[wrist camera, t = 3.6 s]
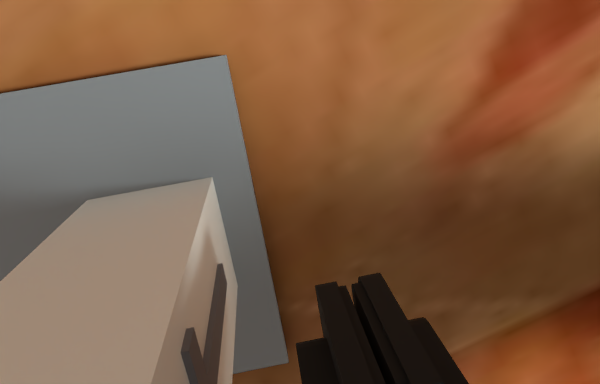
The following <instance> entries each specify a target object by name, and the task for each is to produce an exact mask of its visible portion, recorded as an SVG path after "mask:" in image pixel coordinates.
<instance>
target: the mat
mask: <svg viewBox="0 0 600 384" xmlns="http://www.w3.org/2000/svg"><path fill="white" fill-rule="evenodd" d="M210 177H212V178H213V182H214V186H215V191H216V195H217V199H218V203H219V208H220V212H221V216H222V221H223V225H224V229H225V233H226V238H227V242H228V246H229V250H230V255H231V259H232V263H233V268H234V272H235V276H236V280H237V285H238V289H237V306H236V324H235V342H234V360H233V374H236V373H241V372H246V371H250V370H255V369H260V368H265V367H270V366H275V365H280V364H285V363H289V360H288V353H287V348H286V343H285V338H284V333H283V328H282V324H281V319H280V314H279V309H278V304H277V299H276V294H275V289H274V285H273V280H272V275H271V270H270V265H269V260H268V255H267V250H266V246H265V241H264V236H263V231H262V226H261V221H260V216H259V211H258V207H257V202H256V197H255V192H254V187H253V182H252V177H251V172H250V168H249V163H248V158H247V153H246V148H245V143H244V138H243V133H242V129H241V124H240V119H239V114H238V109H237V104H236V99H235V94H234V90H233V85H232V80H231V75H230V70H229V65H228V60H227V56H226V55H223V56H217V57H211V58H205V59H199V60H193V61H188V62H182V63H176V64H170V65H164V66H158V67H153V68H147V69H141V70H135V71H129V72H123V73H118V74H112V75H106V76H100V77H94V78H89V79H83V80H77V81H71V82H65V83H59V84H54V85H48V86H42V87H36V88H30V89H24V90H19V91H13V92H7V93H1V94H0V281H1V280H2V279H4V278H5V277H6V276H7V275H8V274H9V273H10V272H11V271H12V270H13V269H14V268H15V267H16V266H17V265H18V264H20V263H21V262H22V261H23V260H24V259H25V258H26V257H27V256H28V255H29V254H30V253H31V252H32V251H33V250H34V249H36V248H37V247H38V246H39V245H40V244H41V243H42V242H43V241H44V240H45V239H46V238H47V237H48V236H49V235H50V234H52V233H53V232H54V231H55V230H56V229H57V228H58V227H59V226H60V225H61V224H62V223H63V222H64V221H65V220H66V219H68V218H69V217H70V216H71V215H72V214H73V213H74V212H75V211H76V210H77V209H78V208H79V207H80V206H81V205H82V204H84V203H85V202H86V201H87V200H90V199H96V198H101V197H106V196H112V195H117V194H123V193H128V192H134V191H139V190H144V189H150V188H155V187H161V186H166V185H172V184H177V183H182V182H188V181H193V180H199V179H204V178H210Z"/></svg>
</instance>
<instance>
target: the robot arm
mask: <svg viewBox="0 0 600 384" xmlns="http://www.w3.org/2000/svg"><path fill="white" fill-rule="evenodd" d="M315 288H316V295H317V301H318V307H319V313H320V318H321V324H322V330H323V336H324V338H320V339H315V340H310V341H305V342H300V343H296V348H297V355H298V361H299V367H300V374H301V380H302V384H469V383H468V382H467V380H466V379H465V377H464V376H463V374H462V373H461V371H460V370H459V368H458V367H457V365H456V363H455V362H454V360H453V359H452V357H451V356H450V354H449V353H448V351H447V350H446V348H445V347H444V345H443V344H442V342H441V341H440V339H439V337H438V336H437V334H436V333H435V331H434V330H433V328H432V327H431V325H430V324H429V322H428V321H427V320H426V318H423V317H422V318H417V319H412V320H407V318H406V316H405V315H404V313H403V311H402V309H401V308H400V306H399V304H398V303H397V301H396V299H395V297H394V296H393V294H392V292H391V291H390V289H389V287H388V285H387V284H386V282H385V280H384V279H383V277H382V275H381V274H380V273H376V274H371V275H366V276H361V277H359V278H358V283H355V284H352V294H353V301H354V305H353V302H352V300H351V297H350V295H349V292H348V290H347V287H346V286H340V287H338V285H337V282H331V283H326V284H321V285H316V286H315Z"/></svg>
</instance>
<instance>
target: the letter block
mask: <svg viewBox="0 0 600 384" xmlns="http://www.w3.org/2000/svg"><path fill="white" fill-rule="evenodd" d="M237 289H238V285H237V280H236V276H235V272H234V268H233V263H232V259H231V255H230V250H229V246H228V242H227V238H226V233H225V229H224V225H223V221H222V216H221V212H220V208H219V203H218V199H217V195H216V191H215V186H214V182H213V178H212V177H210V178H204V179H199V180H193V181H188V182H182V183H177V184H172V185H166V186H161V187H155V188H150V189H144V190H139V191H134V192H128V193H123V194H117V195H112V196H106V197H101V198H96V199H90V200H87V201H86V202H85V203H84V204H82V205H81V206H80V207H79V208H78V209H77V210H76V211H75V212H74V213H73V214H72V215H71V216H70V217H69V218H68V219H66V220H65V221H64V222H63V223H62V224H61V225H60V226H59V227H58V228H57V229H56V230H55V231H54V232H53V233H52V234H50V235H49V236H48V237H47V238H46V239H45V240H44V241H43V242H42V243H41V244H40V245H39V246H38V247H37V248H36V249H34V250H33V251H32V252H31V253H30V254H29V255H28V256H27V257H26V258H25V259H24V260H23V261H22V262H21V263H20V264H18V265H17V266H16V267H15V268H14V269H13V270H12V271H11V272H10V273H9V274H8V275H7V276H6V277H5V278H4V279H2V280H1V281H0V384H232V378H233V360H234V342H235V324H236V306H237Z"/></svg>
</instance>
